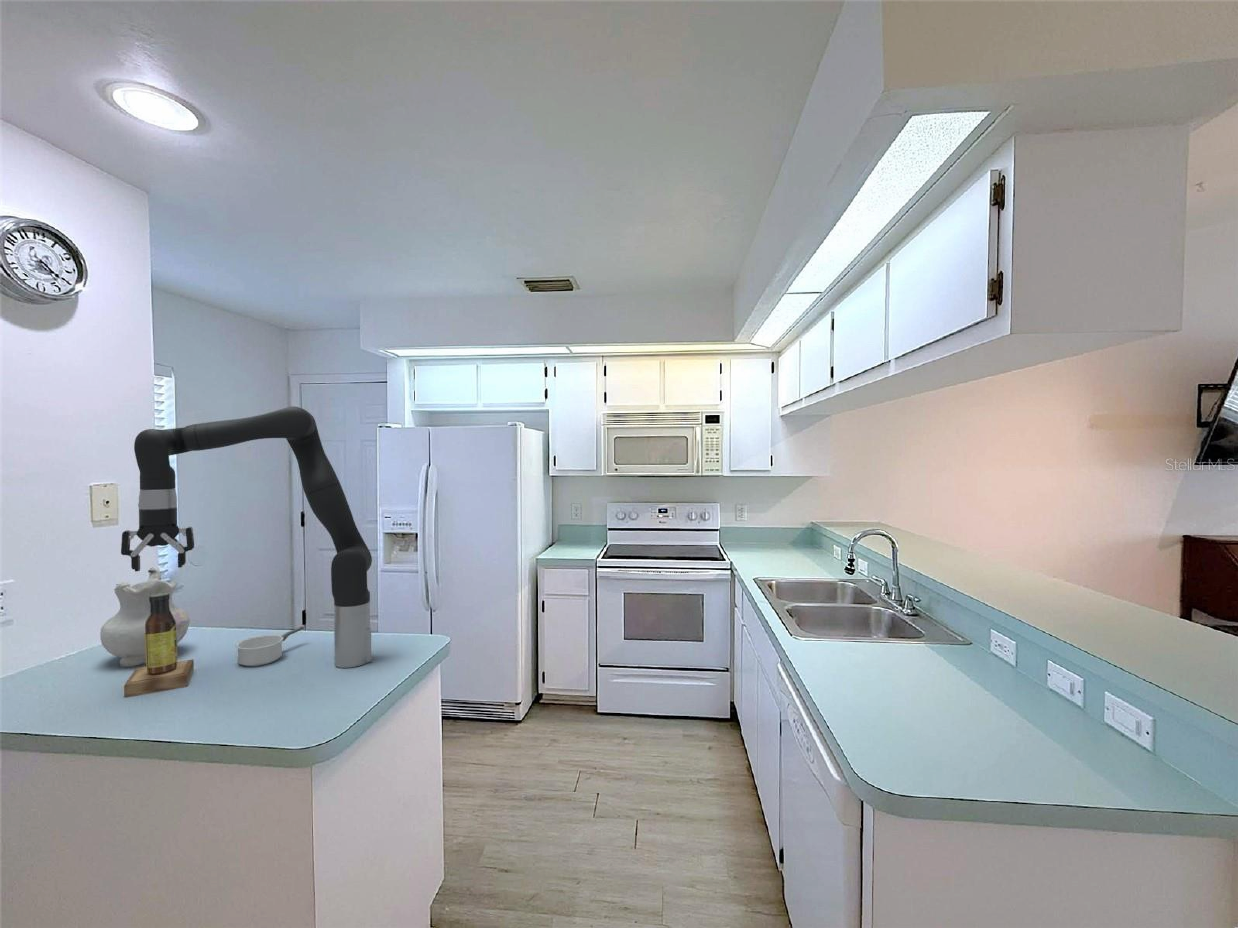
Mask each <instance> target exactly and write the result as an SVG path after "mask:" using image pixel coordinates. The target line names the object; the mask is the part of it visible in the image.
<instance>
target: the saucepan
mask: <svg viewBox="0 0 1238 928" xmlns="http://www.w3.org/2000/svg"><path fill="white" fill-rule="evenodd" d="M305 628H306V626H299V627H297V628H295V629H291V630H289V631H287V632H285V633H283V634H282V635H278V634H269V635H268V634H267V635H259V636H254V637H250V638H249V637H248V638H247V639H243V640H241V641H239V642H237V643H236V645H235V648H237V663H238V665H243V666H245V667H257V666H258V667H259V666H260V667H261V666H264V665H267V664H271V663H273V662H275V661H277V660H278V659H279V658H280V657H282V655H283V642H284V641H286V640H287V638H288V637H290V636H291V635H293V634H295V633H298V632H301V631H303V630H304V629H305Z"/></svg>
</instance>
